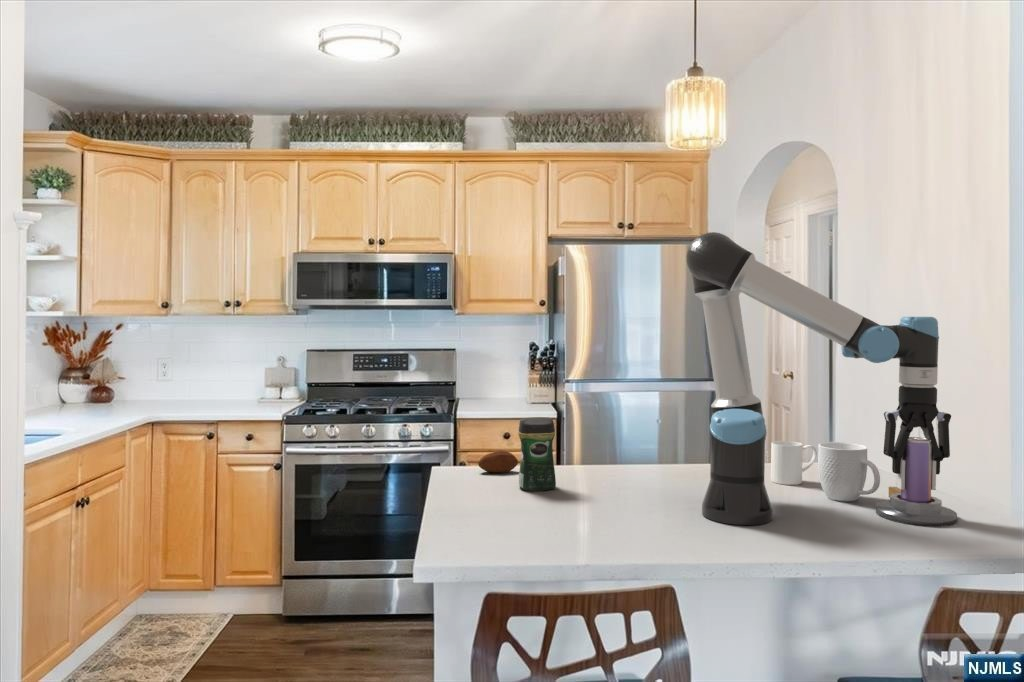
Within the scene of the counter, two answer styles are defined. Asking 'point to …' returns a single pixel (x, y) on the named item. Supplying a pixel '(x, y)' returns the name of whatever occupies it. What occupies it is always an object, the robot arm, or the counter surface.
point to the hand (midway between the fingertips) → (915, 488)
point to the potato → (498, 462)
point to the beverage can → (917, 470)
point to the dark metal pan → (915, 511)
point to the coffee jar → (536, 454)
